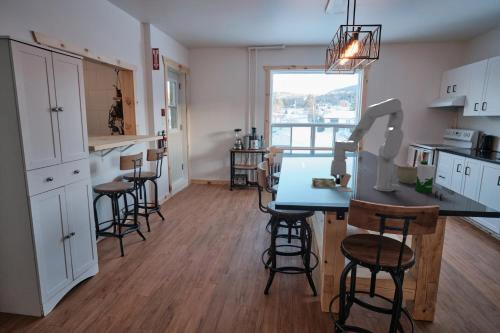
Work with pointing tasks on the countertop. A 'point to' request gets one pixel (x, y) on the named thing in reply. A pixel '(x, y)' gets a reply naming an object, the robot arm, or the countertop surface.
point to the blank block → (345, 180)
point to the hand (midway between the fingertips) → (337, 184)
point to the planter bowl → (407, 174)
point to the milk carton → (425, 177)
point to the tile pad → (344, 189)
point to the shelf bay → (323, 182)
